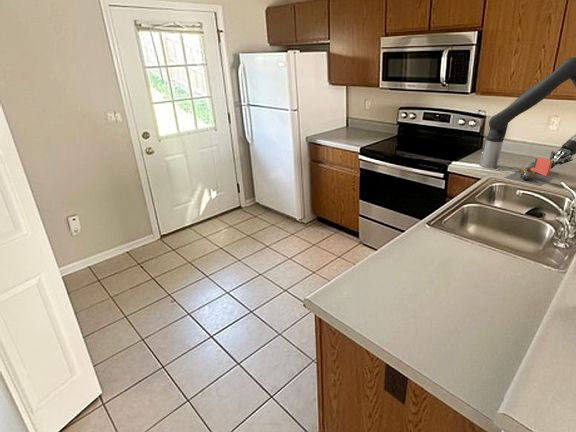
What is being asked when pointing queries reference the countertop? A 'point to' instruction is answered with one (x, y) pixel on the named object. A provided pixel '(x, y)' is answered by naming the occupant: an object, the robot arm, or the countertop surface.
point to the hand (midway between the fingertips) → (548, 167)
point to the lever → (541, 166)
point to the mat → (536, 180)
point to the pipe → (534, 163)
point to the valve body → (527, 174)
